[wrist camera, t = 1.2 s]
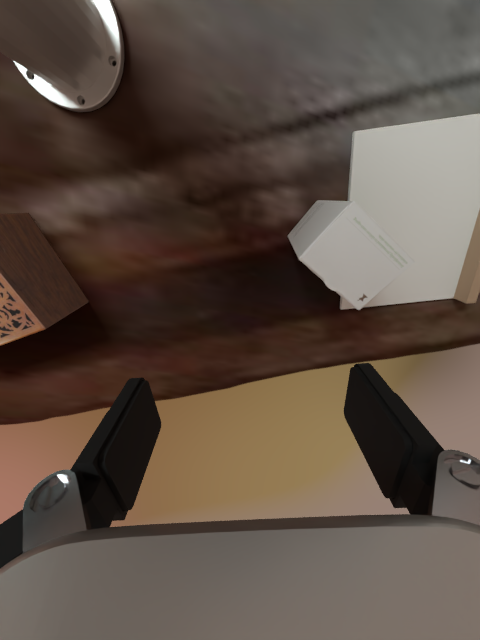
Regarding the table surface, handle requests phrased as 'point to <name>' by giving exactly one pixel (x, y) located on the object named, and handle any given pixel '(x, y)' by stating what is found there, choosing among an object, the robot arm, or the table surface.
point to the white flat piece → (423, 204)
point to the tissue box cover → (31, 280)
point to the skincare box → (348, 250)
